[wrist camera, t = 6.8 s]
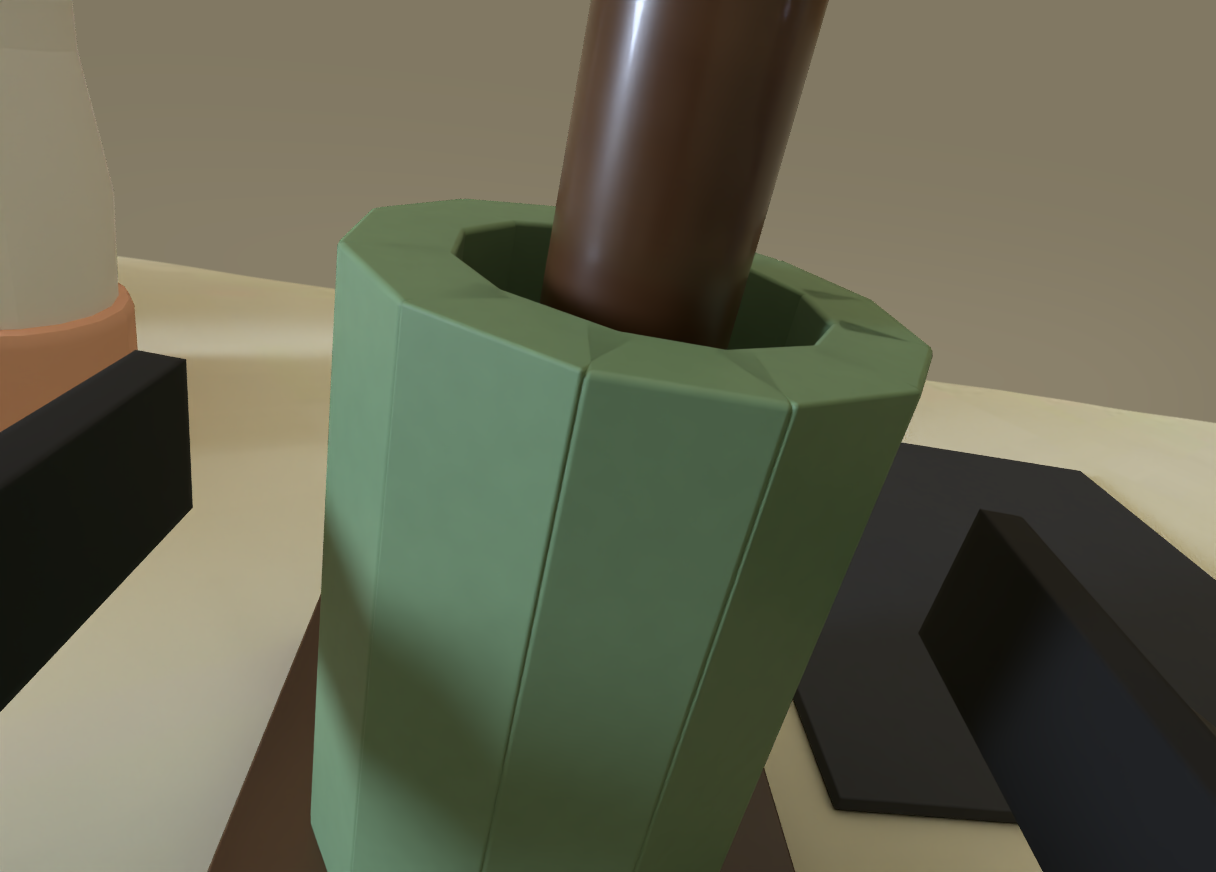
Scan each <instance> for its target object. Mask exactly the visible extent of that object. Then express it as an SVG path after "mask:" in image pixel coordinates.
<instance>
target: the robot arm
mask: <svg viewBox="0 0 1216 872" xmlns="http://www.w3.org/2000/svg"><path fill="white" fill-rule="evenodd" d="M192 508H193V504H192V481H191V459H190V436H189V413H188V390H187V368H186V359H181V358H176V357H170V356H165V355H160V354H155V353H149V352H144V351H139V350H135V351H133V352H131V353H130V354H128V355H126V356H125V357H123V358H121V359H120V360H118V361H116V362H115V363H113V364H112V365H110V366H108V367H107V368H105V369H103V370H102V371H100V372H98V373H97V374H95V375H93V376H92V377H90V378H89V379H87V380H85V381H84V382H82V383H80V384H79V385H77V386H75V387H74V388H72V389H70V390H69V391H67V392H66V393H64V394H62V395H61V396H59V397H57V398H56V399H54V400H52V401H51V402H49V403H47V404H46V405H44V406H43V407H41V408H39V409H38V410H36V411H34V412H33V413H31V414H29V415H28V416H26V417H24V418H23V419H21V420H20V421H18V422H16V423H15V424H13V425H11V426H10V427H8V428H6V429H5V430H3V431H1V432H0V712H1V711H2V710H3V709H4V708H5V706H6V705H7V704H8V703H9V702H10V701H11V700H12V699H13V698H14V697H15V696H16V695H17V694H18V693H19V692H20V690H21V689H22V688H23V687H24V686H25V685H26V684H27V683H28V682H29V681H30V680H31V679H32V678H33V677H34V676H35V675H36V673H37V672H38V671H39V670H40V669H41V668H42V667H43V666H44V665H45V664H46V663H47V662H48V661H49V660H50V659H51V658H52V656H53V655H54V654H55V653H56V652H57V651H58V650H59V649H60V648H61V647H62V646H63V645H64V644H65V643H66V642H67V641H68V639H69V638H70V637H71V636H72V635H73V634H74V633H75V632H76V631H77V630H78V629H79V628H80V627H81V626H82V625H83V624H84V622H85V621H86V620H87V619H88V618H89V617H90V616H91V615H92V614H93V613H94V612H95V611H96V610H97V609H98V608H99V607H100V605H101V604H102V603H103V602H104V601H105V600H106V599H107V598H108V597H109V596H110V595H111V594H112V593H113V592H114V591H115V590H116V588H117V587H118V586H119V585H120V584H121V583H122V582H123V581H124V580H125V579H126V578H127V577H128V576H129V575H130V574H131V573H132V571H133V570H134V569H135V568H136V567H137V566H138V565H139V564H140V563H141V562H142V561H143V560H144V559H145V558H146V557H147V556H148V554H149V553H150V552H151V551H152V550H153V549H154V548H155V547H156V546H157V545H158V544H159V543H160V542H161V541H162V540H163V539H164V537H165V536H166V535H167V534H168V533H169V532H170V531H171V530H172V529H173V528H174V527H175V526H176V525H177V524H178V523H179V522H180V520H181V519H182V518H183V517H184V516H185V515H186V514H187V513H188V512H189V511H190V510H191V509H192ZM918 634H919V636H920V638H921V639H922V641H923V643H924V645H925V647H926V649H927V651H928V653H929V655H930V657H931V659H932V661H933V662H934V664H935V666H936V668H937V670H938V672H939V674H940V676H941V678H942V680H943V682H944V683H945V685H946V687H947V689H948V691H949V693H950V695H951V697H952V699H953V701H954V703H955V705H956V706H957V708H958V710H959V712H960V714H961V716H962V718H963V720H964V722H965V724H966V726H967V727H968V729H969V731H970V733H971V735H972V737H973V739H974V741H975V743H976V745H977V747H978V749H979V750H980V752H981V754H982V756H983V758H984V760H985V762H986V764H987V766H988V768H989V770H990V771H991V773H992V775H993V777H994V779H995V781H996V783H997V785H998V787H999V789H1000V791H1001V793H1002V794H1003V796H1004V798H1005V800H1006V802H1007V804H1008V806H1009V808H1010V810H1011V812H1012V814H1013V815H1014V817H1015V819H1016V821H1017V823H1018V825H1019V827H1020V829H1021V831H1022V833H1023V835H1024V837H1025V838H1026V840H1027V842H1028V844H1029V846H1030V848H1031V850H1032V852H1033V854H1034V856H1035V858H1036V859H1037V861H1038V863H1039V865H1040V867H1041V869H1042V871H1043V872H1216V727H1215V726H1214V725H1213V724H1211V723H1210V722H1209V721H1207V720H1206V719H1205V718H1204V717H1202V716H1201V715H1200V714H1199V713H1197V712H1196V711H1195V710H1194V709H1192V708H1191V707H1189V706H1188V704H1187V703H1186V702H1185V701H1184V700H1183V699H1182V698H1181V696H1180V695H1179V694H1178V693H1177V692H1176V691H1175V690H1174V688H1173V687H1172V686H1171V685H1170V684H1169V683H1168V682H1167V681H1166V679H1165V678H1164V677H1163V676H1162V675H1161V674H1160V673H1159V671H1158V670H1157V669H1156V668H1155V667H1154V666H1153V665H1152V664H1151V662H1150V661H1149V660H1148V659H1147V658H1146V657H1145V656H1144V654H1143V653H1142V652H1141V651H1140V650H1139V649H1138V648H1137V647H1136V645H1135V644H1134V643H1133V642H1132V641H1131V640H1130V639H1129V637H1128V636H1127V635H1126V634H1125V633H1124V632H1123V631H1122V629H1121V628H1120V627H1119V626H1118V625H1117V624H1116V623H1115V622H1114V620H1113V619H1112V618H1111V617H1110V616H1109V615H1108V614H1107V612H1106V611H1105V610H1104V609H1103V608H1102V607H1101V606H1100V605H1099V603H1098V602H1097V601H1096V600H1095V599H1094V598H1093V597H1092V595H1091V594H1090V593H1089V592H1088V591H1087V590H1086V589H1085V587H1084V586H1083V585H1082V584H1081V583H1080V582H1079V581H1078V580H1077V578H1076V577H1075V576H1074V575H1073V574H1072V573H1071V572H1070V570H1069V569H1068V568H1067V567H1066V566H1065V565H1064V564H1063V563H1062V561H1061V560H1060V559H1059V558H1058V557H1057V556H1056V555H1055V553H1054V552H1053V551H1052V550H1051V549H1050V548H1049V547H1048V545H1047V544H1046V543H1045V542H1044V541H1043V540H1042V539H1041V538H1040V536H1039V535H1038V534H1037V533H1036V532H1035V531H1034V530H1033V528H1032V527H1031V526H1030V525H1029V524H1028V523H1027V522H1026V521H1025V519H1024V518H1023V517H1021V516H1016V515H1011V514H1005V513H1000V512H995V511H989V510H984V509H979V511H978V513H977V515H976V517H975V519H974V521H973V523H972V525H971V527H970V529H969V531H968V533H967V535H966V537H965V540H964V542H963V544H962V546H961V548H960V550H959V552H958V554H957V556H956V558H955V560H954V562H953V564H952V566H951V568H950V570H949V572H948V574H947V576H946V578H945V580H944V582H943V584H942V586H941V588H940V590H939V592H938V594H937V596H936V598H935V600H934V602H933V604H932V606H931V608H930V610H929V612H928V614H927V616H926V618H925V620H924V622H923V624H922V626H921V628H920V630H919V632H918Z"/></svg>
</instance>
